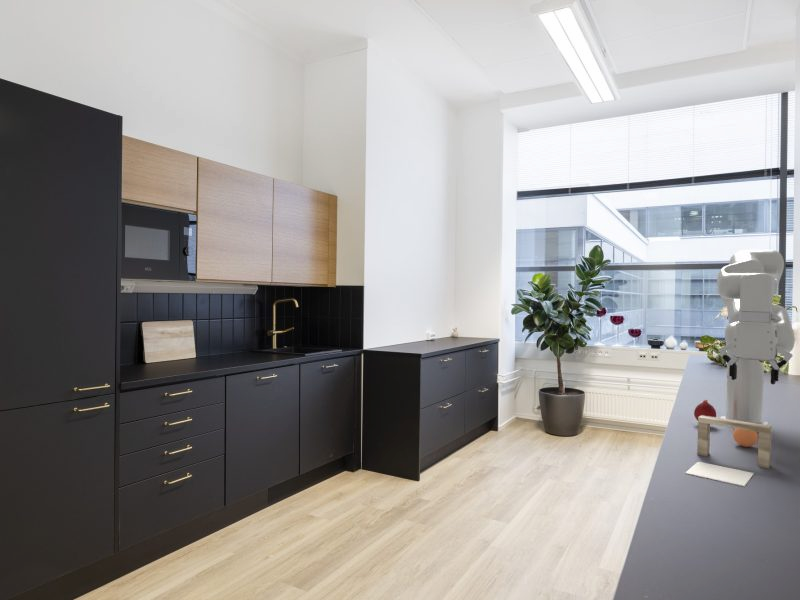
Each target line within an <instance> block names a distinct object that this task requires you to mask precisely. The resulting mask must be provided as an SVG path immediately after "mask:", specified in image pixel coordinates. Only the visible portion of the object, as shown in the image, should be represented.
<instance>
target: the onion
mask: <svg viewBox="0 0 800 600" xmlns="http://www.w3.org/2000/svg"><path fill="white" fill-rule="evenodd" d="M693 415H694V418H695V419H696V421H697V422H698V417H699V416H701V415H703V416H710V417H716V418H717V411H716V409H715V407H714V406H713V405H712V404H711V403H710V402H708V400H707V399H703V401H702V402H701V403H698V404H697V406H696V407H695V408H694V411H693Z"/></svg>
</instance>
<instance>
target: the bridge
mask: <svg viewBox="0 0 800 600" xmlns="http://www.w3.org/2000/svg"><path fill="white" fill-rule="evenodd" d="M711 425H716V426H719V427H720V426H722V427H725V428H726V427H727V428H732V429H735V428H739V429H745V430H751V431H756V432H757V433H758V446H757V447H758V450H757V452H758V453H757V467H758V468H759V467H760V468H764V469H769V468H770V467H771V459H772V458H771V457H772V455H771V454H772V453H771V452H772V430H773V429H772V427H773V426H772V425H769V424H768V425H762V424H756V423H749V422H742V421H736V420H729V419H723V418H720V417H717V416H716V417H710V416H703V415H701V416H699V417H698V421H697V443H696V444H697V447H696V448H697V449H696V454H697V455H699V456H703V457H707V456H708V455H710V442H711V440H710V439H711V438H710V437H711Z"/></svg>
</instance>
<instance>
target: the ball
mask: <svg viewBox="0 0 800 600" xmlns="http://www.w3.org/2000/svg"><path fill="white" fill-rule="evenodd" d="M732 436H733V437H732V438H733V439H734V441H735V442H736V443H737V444H738V445H739V446H741V447H745V448H749V447H753V446H755V445H756V444H757V442H759V433H758V432H757V431H751V430H745V429H739V428H734V430H733V433H732Z"/></svg>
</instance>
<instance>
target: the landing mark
mask: <svg viewBox="0 0 800 600" xmlns="http://www.w3.org/2000/svg"><path fill="white" fill-rule="evenodd" d="M684 474H685V475H690V476H695V477H699V478H702V479H703V478H704V479H707V478H708V480H713V481H716V480H717V482H721V483H726V484H731V485H734V486H735V485H736V486H739V487H744V488H745V487H746V485H747V484H748V483H749V481H750V480H751V479H752V477H753V476H754V474H755V472H750V471H746V470H741V469H738V468H737V469H735V468H730V467H726V466H720V465H716V464H711V463H707V462H704V461H703V462H702V461H697V462H696V463H694V465H692V466H691V467H690V468H689V469H688V470H687V471H686V472H684Z"/></svg>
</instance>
